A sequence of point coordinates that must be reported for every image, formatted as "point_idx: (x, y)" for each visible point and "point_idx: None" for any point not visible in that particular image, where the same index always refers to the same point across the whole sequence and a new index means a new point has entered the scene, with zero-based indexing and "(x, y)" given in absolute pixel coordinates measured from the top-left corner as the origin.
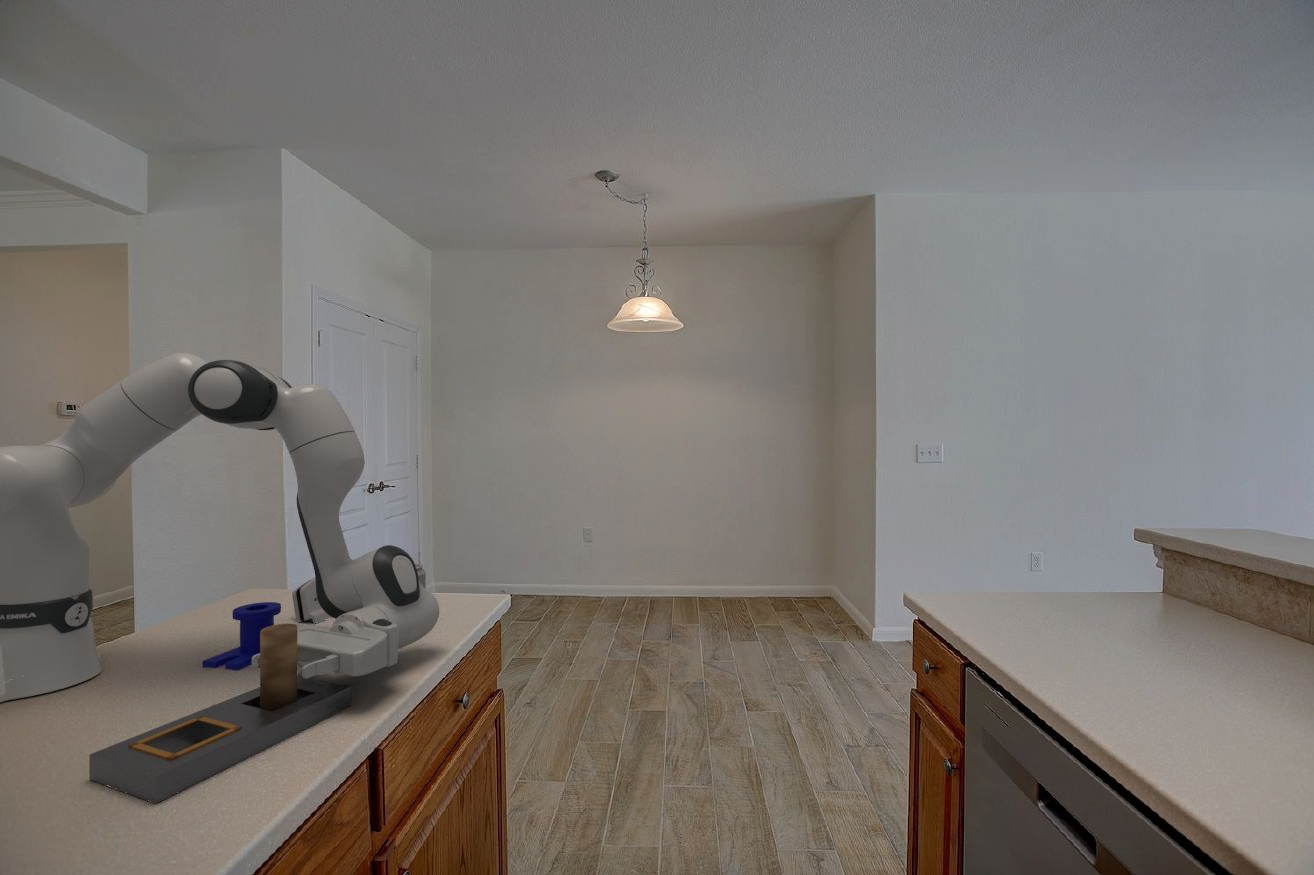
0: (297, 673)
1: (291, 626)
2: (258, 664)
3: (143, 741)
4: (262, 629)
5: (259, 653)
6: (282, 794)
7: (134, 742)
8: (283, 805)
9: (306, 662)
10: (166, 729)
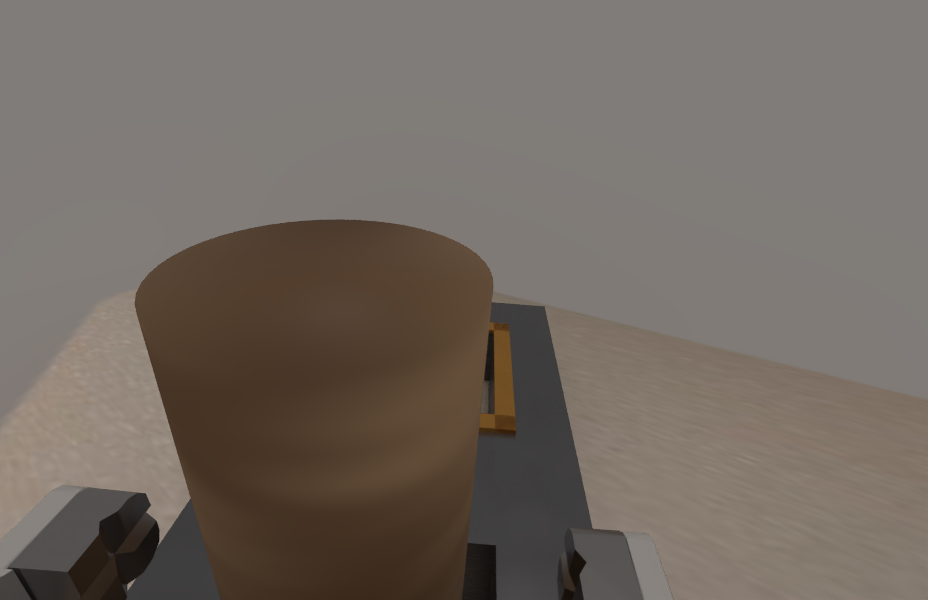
0: (154, 519)
1: (224, 309)
2: (563, 555)
3: (496, 334)
4: (466, 251)
5: (666, 584)
6: (77, 382)
7: (518, 336)
8: (60, 363)
9: (82, 544)
10: (524, 377)
